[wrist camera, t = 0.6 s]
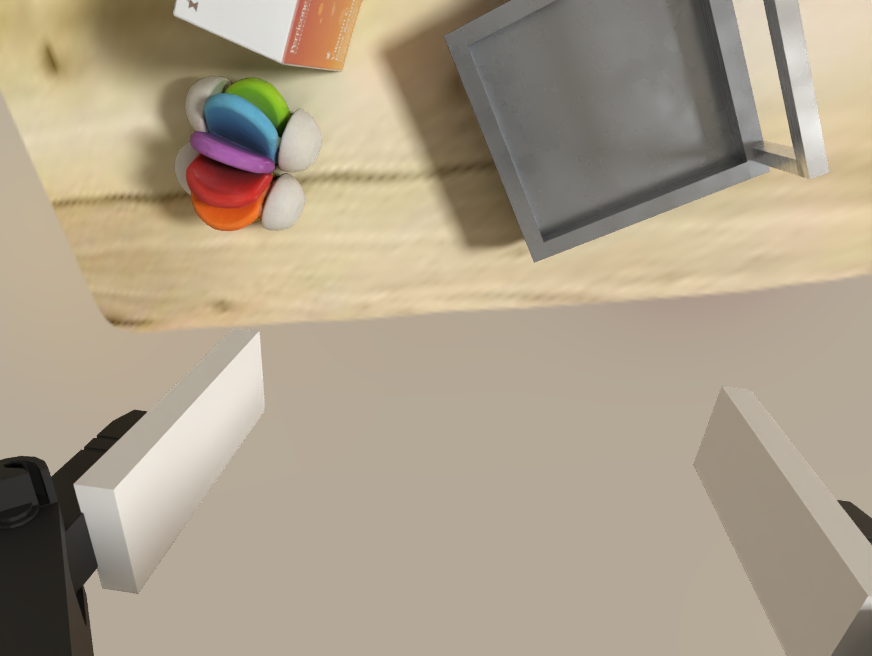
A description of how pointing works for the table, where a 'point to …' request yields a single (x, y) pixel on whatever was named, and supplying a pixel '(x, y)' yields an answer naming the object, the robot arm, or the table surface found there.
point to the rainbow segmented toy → (245, 154)
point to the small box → (280, 27)
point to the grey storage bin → (627, 108)
